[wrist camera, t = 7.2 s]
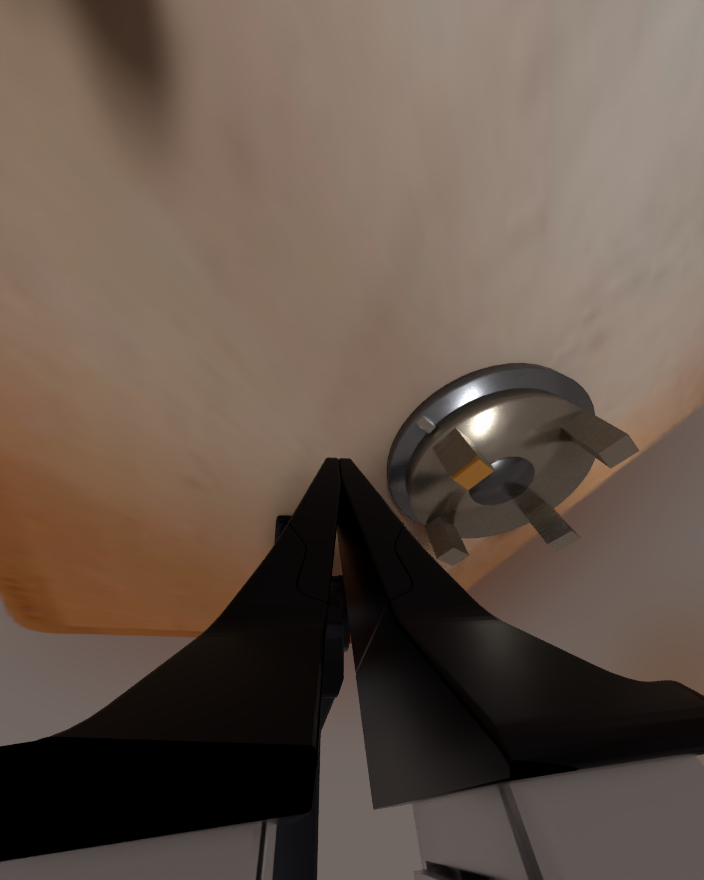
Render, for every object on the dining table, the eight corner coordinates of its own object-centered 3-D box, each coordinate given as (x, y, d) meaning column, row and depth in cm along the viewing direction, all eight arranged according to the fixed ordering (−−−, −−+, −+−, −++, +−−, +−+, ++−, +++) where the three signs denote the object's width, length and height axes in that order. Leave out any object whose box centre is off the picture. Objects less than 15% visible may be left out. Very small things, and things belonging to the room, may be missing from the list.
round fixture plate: (607, 451, 26) (670, 494, 21) (470, 539, 33) (495, 587, 28) (522, 344, 19) (589, 371, 14) (369, 484, 26) (380, 535, 21)
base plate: (512, 524, 34) (523, 539, 33) (366, 515, 31) (369, 531, 29) (630, 383, 24) (655, 393, 22) (427, 342, 20) (438, 350, 18)
